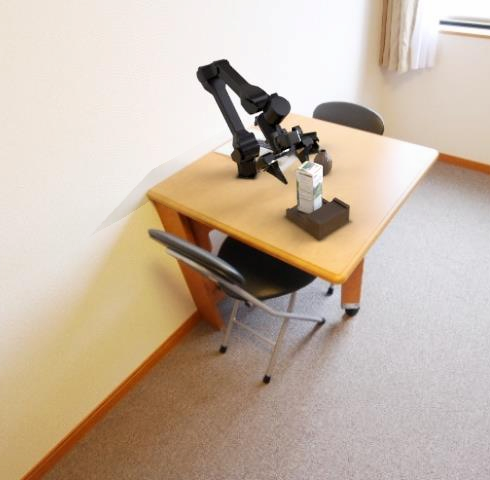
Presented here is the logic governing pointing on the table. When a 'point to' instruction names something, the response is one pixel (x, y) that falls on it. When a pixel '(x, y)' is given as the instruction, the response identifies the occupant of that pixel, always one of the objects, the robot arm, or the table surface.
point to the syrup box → (309, 186)
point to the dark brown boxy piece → (321, 217)
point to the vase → (324, 161)
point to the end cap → (315, 139)
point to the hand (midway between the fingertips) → (298, 178)
